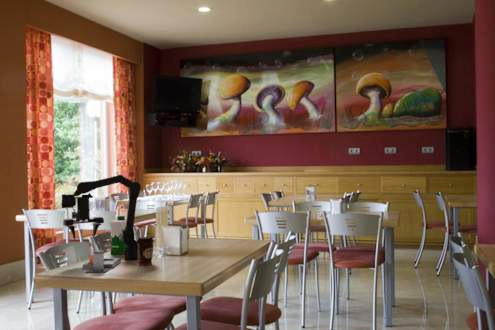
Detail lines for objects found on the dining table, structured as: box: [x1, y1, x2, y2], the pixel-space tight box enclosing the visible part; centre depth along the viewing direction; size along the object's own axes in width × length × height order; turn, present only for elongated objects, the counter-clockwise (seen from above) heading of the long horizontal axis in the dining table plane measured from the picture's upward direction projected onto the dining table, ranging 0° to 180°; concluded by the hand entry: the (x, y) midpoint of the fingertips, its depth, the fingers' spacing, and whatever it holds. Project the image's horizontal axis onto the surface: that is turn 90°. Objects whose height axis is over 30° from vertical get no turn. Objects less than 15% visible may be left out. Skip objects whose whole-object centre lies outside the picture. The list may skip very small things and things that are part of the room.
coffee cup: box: [136, 236, 155, 266], centre depth 262 cm, size 9×8×13 cm
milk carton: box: [108, 215, 127, 256], centre depth 296 cm, size 9×9×20 cm
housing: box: [82, 257, 122, 270], centre depth 262 cm, size 14×16×2 cm
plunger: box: [88, 254, 93, 264], centre depth 258 cm, size 4×4×4 cm
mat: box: [85, 268, 112, 274], centre depth 248 cm, size 9×9×1 cm
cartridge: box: [92, 250, 105, 271], centre depth 249 cm, size 5×5×8 cm
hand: (84, 238), depth 270 cm, fingers open, 9 cm apart
